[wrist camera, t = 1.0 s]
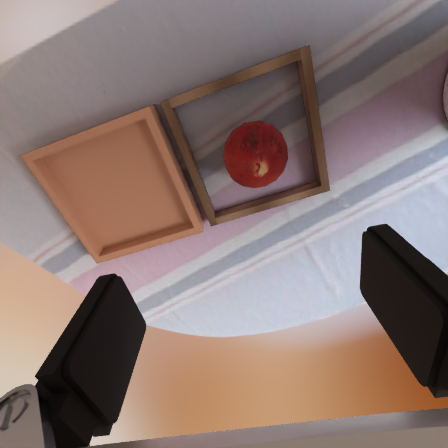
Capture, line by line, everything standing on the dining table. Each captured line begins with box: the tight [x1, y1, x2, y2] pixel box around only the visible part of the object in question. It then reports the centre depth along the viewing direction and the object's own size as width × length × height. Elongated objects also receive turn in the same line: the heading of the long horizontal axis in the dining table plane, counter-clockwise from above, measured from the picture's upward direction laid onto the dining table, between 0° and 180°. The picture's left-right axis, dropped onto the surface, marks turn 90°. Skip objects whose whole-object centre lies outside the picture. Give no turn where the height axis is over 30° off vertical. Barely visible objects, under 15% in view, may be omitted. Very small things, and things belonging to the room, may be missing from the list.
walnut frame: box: [160, 45, 330, 226], centre depth 26 cm, size 14×14×2 cm
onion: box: [223, 121, 288, 188], centre depth 23 cm, size 6×6×8 cm
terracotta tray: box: [20, 104, 204, 263], centre depth 28 cm, size 14×14×2 cm
